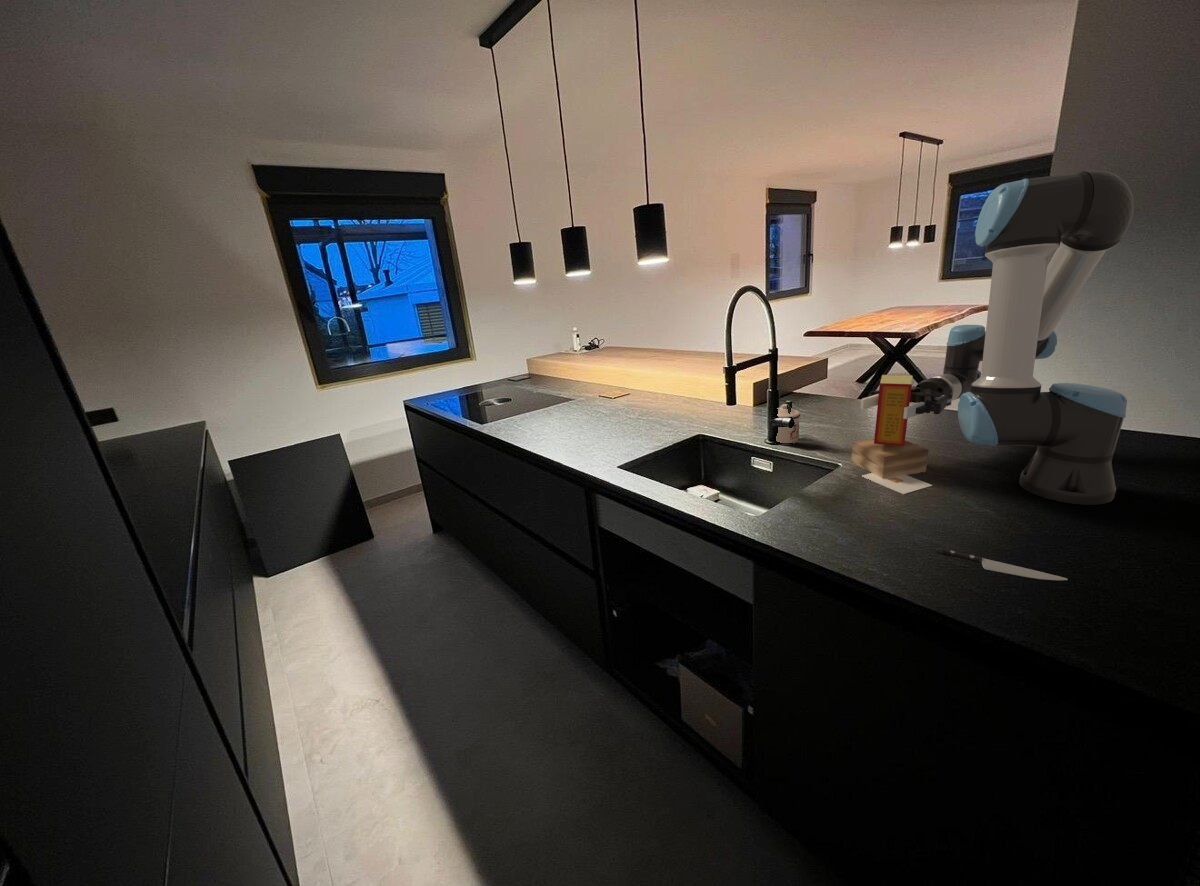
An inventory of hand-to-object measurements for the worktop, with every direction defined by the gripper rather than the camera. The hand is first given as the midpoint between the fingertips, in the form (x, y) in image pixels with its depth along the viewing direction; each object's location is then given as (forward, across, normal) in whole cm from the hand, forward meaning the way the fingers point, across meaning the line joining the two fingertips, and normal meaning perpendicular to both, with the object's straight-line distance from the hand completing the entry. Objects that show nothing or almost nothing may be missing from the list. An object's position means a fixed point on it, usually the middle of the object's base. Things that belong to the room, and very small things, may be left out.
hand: (882, 408), depth 117 cm
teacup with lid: (-2, +32, -17) cm, 37 cm away
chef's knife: (+21, -38, -17) cm, 47 cm away
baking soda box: (-4, 0, -9) cm, 10 cm away
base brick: (-4, 0, -17) cm, 17 cm away
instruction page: (+2, -6, -17) cm, 18 cm away
